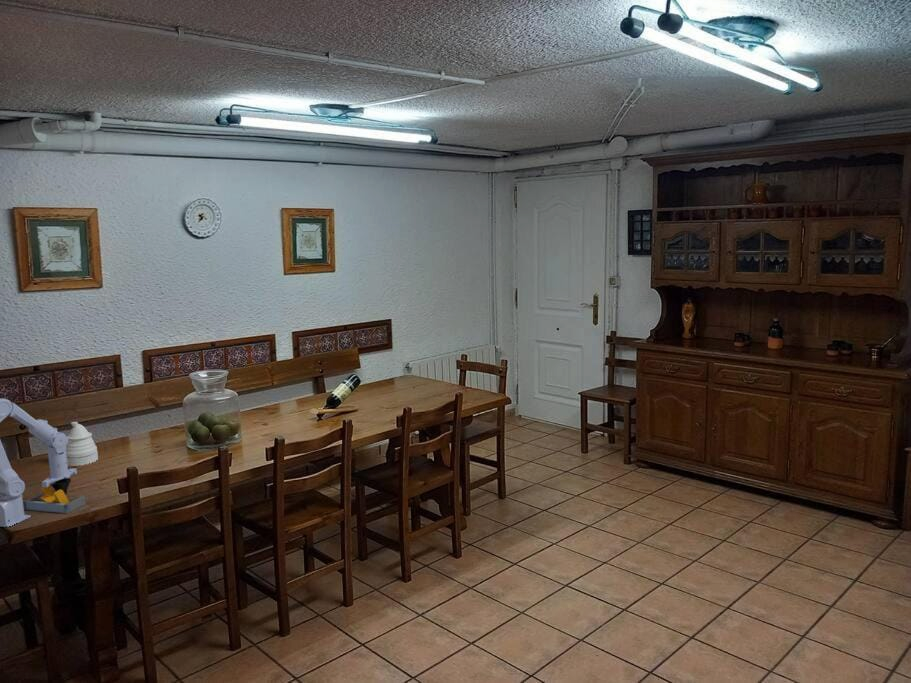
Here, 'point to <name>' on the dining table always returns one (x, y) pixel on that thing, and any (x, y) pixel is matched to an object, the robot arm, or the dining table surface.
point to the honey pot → (80, 446)
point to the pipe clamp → (53, 495)
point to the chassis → (52, 505)
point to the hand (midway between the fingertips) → (62, 498)
